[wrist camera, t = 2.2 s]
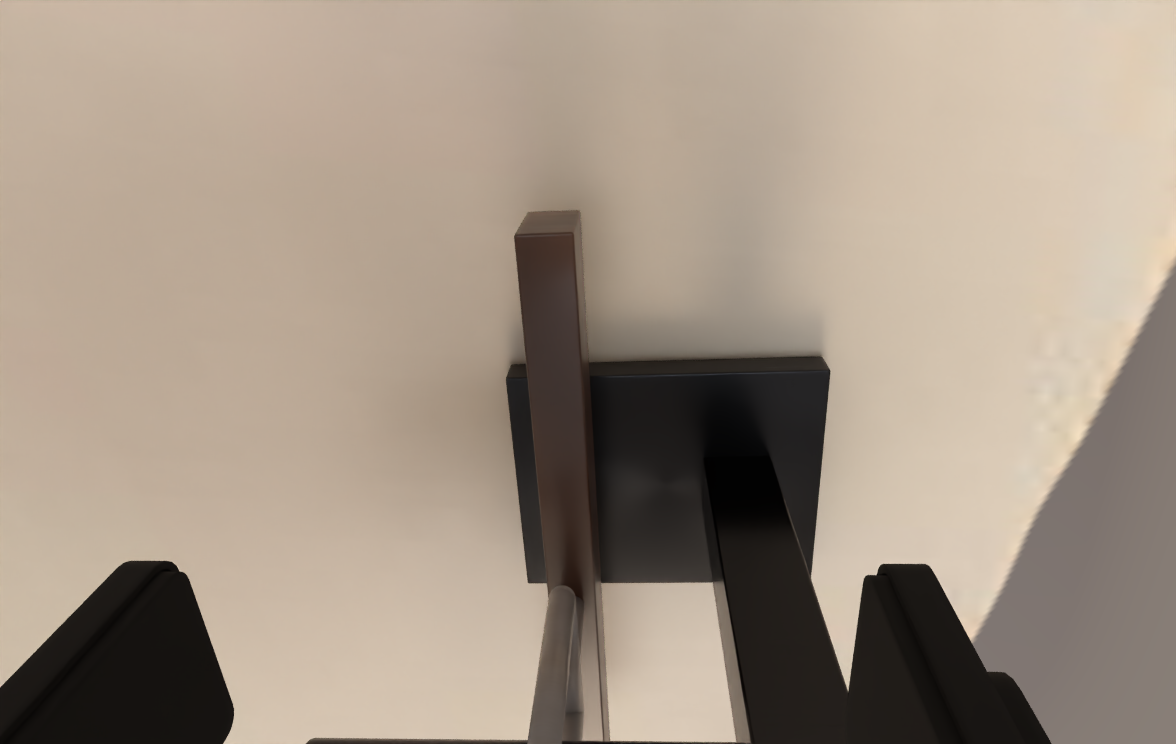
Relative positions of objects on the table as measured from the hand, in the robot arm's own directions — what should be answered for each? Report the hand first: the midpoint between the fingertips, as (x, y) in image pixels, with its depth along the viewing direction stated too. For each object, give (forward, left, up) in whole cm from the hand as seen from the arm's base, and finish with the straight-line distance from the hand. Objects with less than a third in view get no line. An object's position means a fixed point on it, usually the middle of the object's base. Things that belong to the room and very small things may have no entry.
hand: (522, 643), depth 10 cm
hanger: (0, -8, -11) cm, 14 cm away
